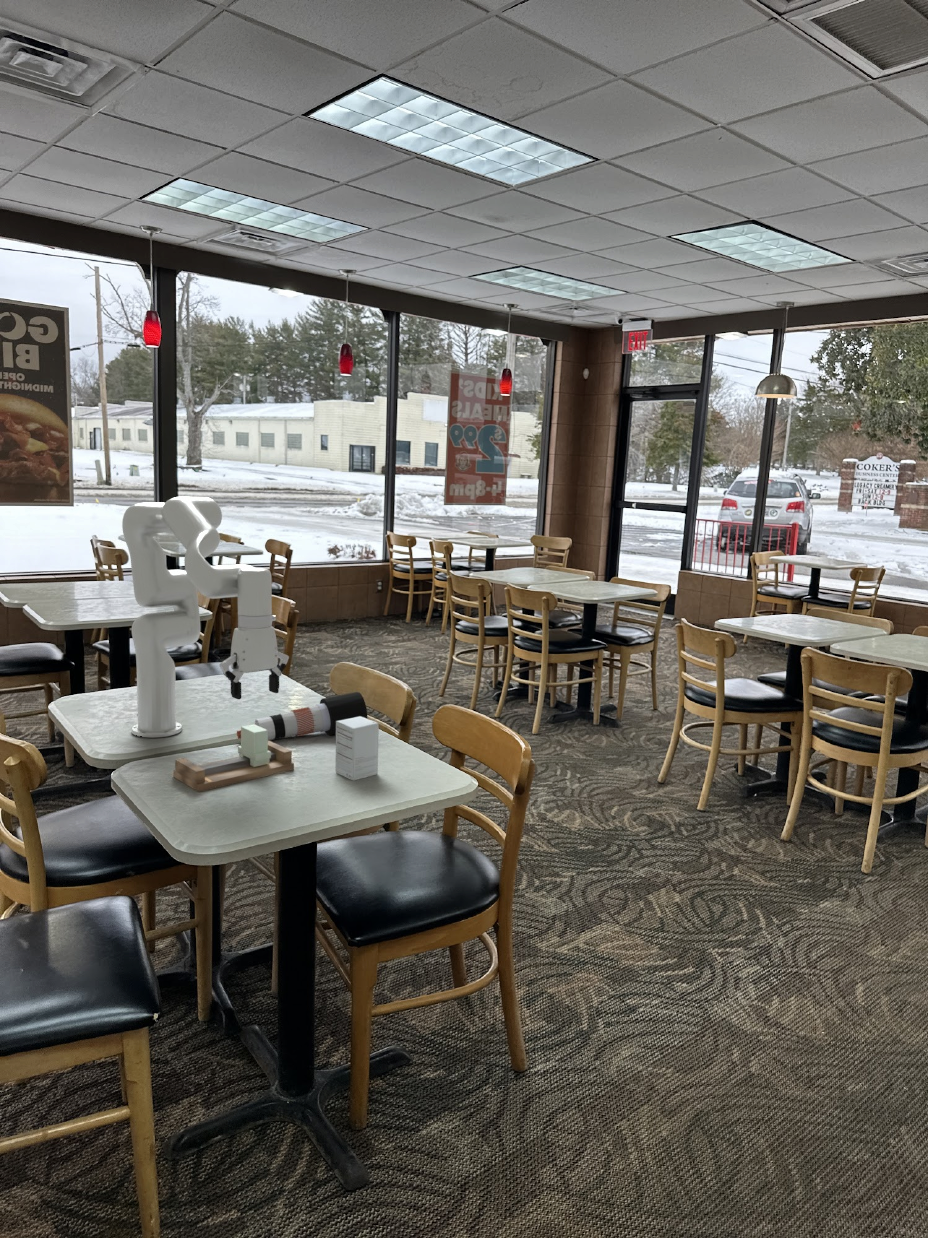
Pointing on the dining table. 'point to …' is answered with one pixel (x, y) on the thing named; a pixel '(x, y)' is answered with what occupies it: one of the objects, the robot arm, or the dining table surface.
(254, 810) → the dining table surface
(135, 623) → the robot arm
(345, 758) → the supplement box
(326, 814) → the dining table surface
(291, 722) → the white black stepped cylinder
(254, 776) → the rail board
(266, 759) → the block
